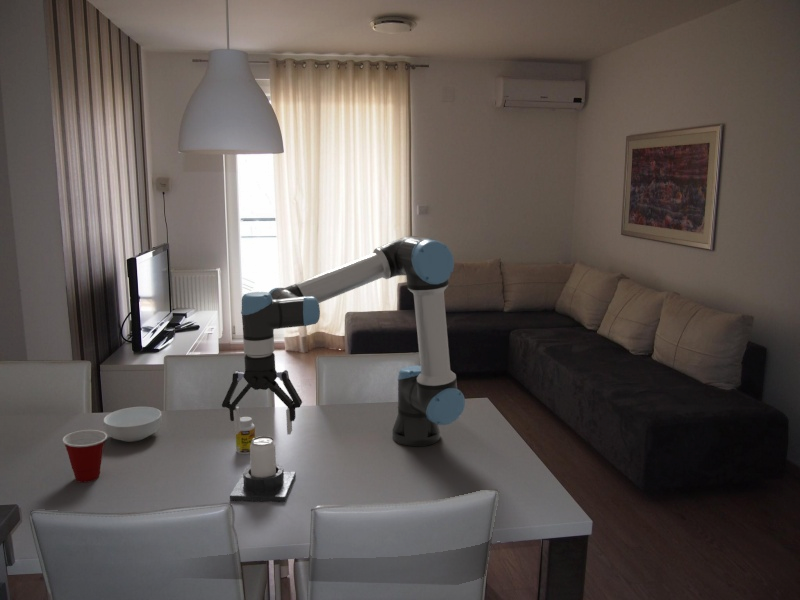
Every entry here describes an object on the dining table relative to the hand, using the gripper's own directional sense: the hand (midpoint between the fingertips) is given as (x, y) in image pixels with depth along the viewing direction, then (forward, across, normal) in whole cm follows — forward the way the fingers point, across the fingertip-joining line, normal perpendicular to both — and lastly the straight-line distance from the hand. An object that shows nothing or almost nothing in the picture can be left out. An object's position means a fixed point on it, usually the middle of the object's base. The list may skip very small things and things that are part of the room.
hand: (263, 432), depth 164 cm
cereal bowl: (+15, +50, -32) cm, 61 cm away
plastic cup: (+15, +50, -4) cm, 52 cm away
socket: (+16, +1, 0) cm, 16 cm away
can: (+14, +1, 0) cm, 14 cm away
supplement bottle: (+16, +12, -23) cm, 30 cm away
